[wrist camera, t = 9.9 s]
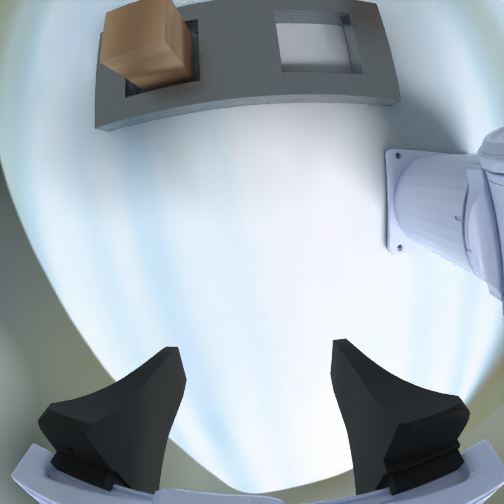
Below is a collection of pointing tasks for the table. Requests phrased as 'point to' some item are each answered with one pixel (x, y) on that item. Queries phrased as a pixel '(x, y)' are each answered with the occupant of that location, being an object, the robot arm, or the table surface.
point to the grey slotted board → (257, 63)
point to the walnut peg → (148, 44)
